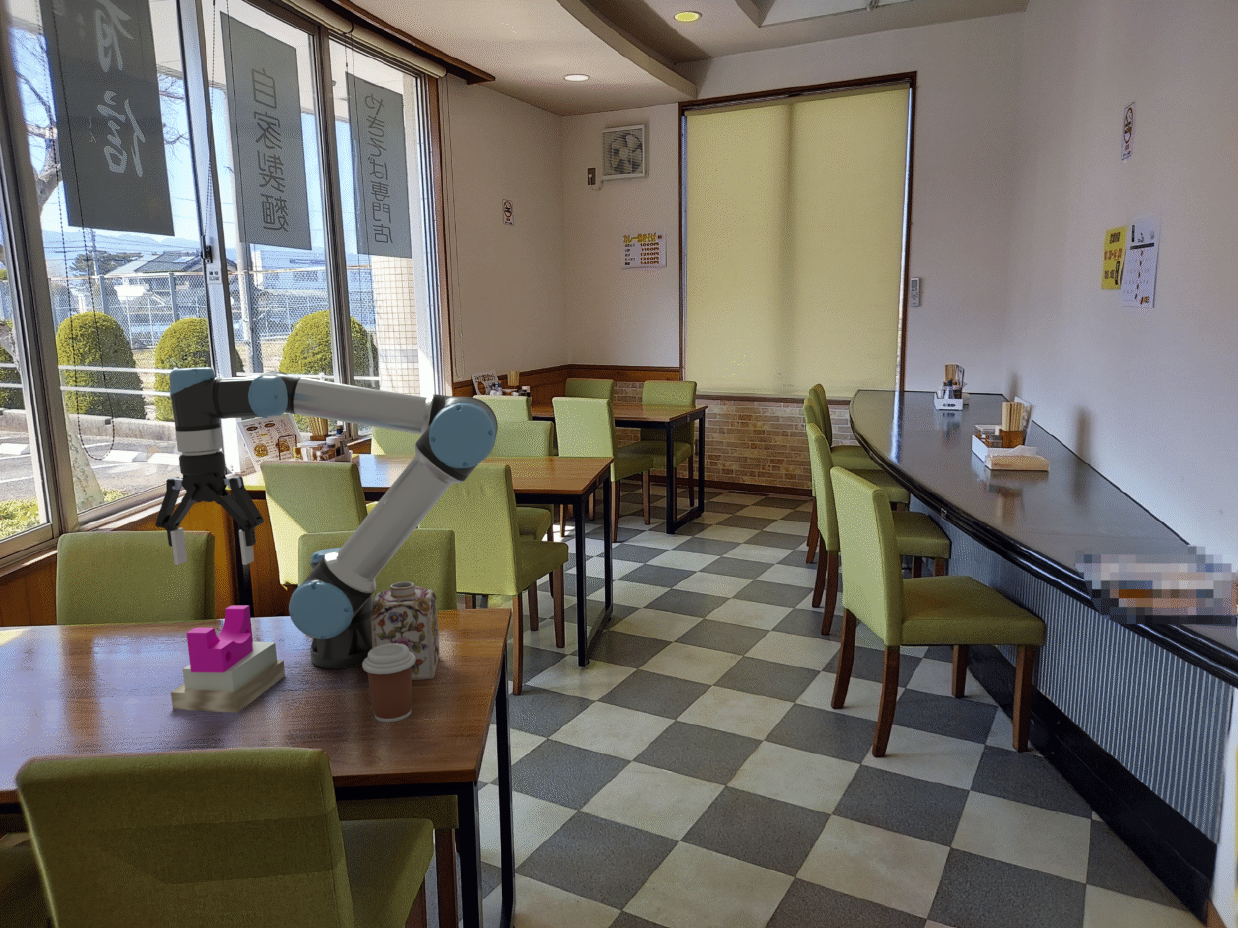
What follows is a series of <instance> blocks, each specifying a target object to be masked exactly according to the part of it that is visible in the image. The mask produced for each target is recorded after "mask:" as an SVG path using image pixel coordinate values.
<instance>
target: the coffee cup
mask: <svg viewBox="0 0 1238 928" xmlns="http://www.w3.org/2000/svg"><path fill="white" fill-rule="evenodd" d="M415 661H416V657H415V655H414V654H413V653H412V652H410V651H409V648H408V647H407V646H406V645H403V644H398V643H391V644H384V645H380V646H377V647H374V648H373V649H371V650H370V651H369V652H368V657H367V658H365V660H364V661H363V663H362V665H361V666H362V669H363V671H364V672H366V673H367V679H368V685H369V690H370V696H371V702H372V703H371V704H372V707H373V713H374V718H375V721H378V722H381V723H395V722H398V721H403V720H405V719H407V718H408V717H409V716H411V715H412V712H413V710H412V708H413V707H412V703H413V702H412V701H413V698H412V697H413V696H412V695H413V693H412V692H413V688H412V687H413V680H412V665H414V663H415Z"/></svg>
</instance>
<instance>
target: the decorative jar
mask: <svg viewBox="0 0 1238 928" xmlns="http://www.w3.org/2000/svg"><path fill="white" fill-rule="evenodd" d="M437 598H438V597H437V596H436V593H435V592H434V590H432V589H429V588H426V587H424V586H423V587H422V586H418V585H415V584H414V582H412V581H399V582H397V581H396V582H394V583H392V584H390V585H389V589H384V590H382V591H379V592H377V593H376V594H375V596H373V604H372V610H371V617H370V620H371V631H372V649H373V648H374V647H377V646H380V645H384V644H391V643H398V644H403V645H406V646H407V647H408V648H409V651H410V652H412V653H413V654H414V655H415V657H416V661H415V663H414V665H412V681H420V680H421V681H424V680H432V679H434V678H435V676H436V672H437V667H438V663H439V659H440V641H439V640H440V639H439V637H440V636H439V621H438V620H439V619H438V609H437V607H438V606H437Z"/></svg>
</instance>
